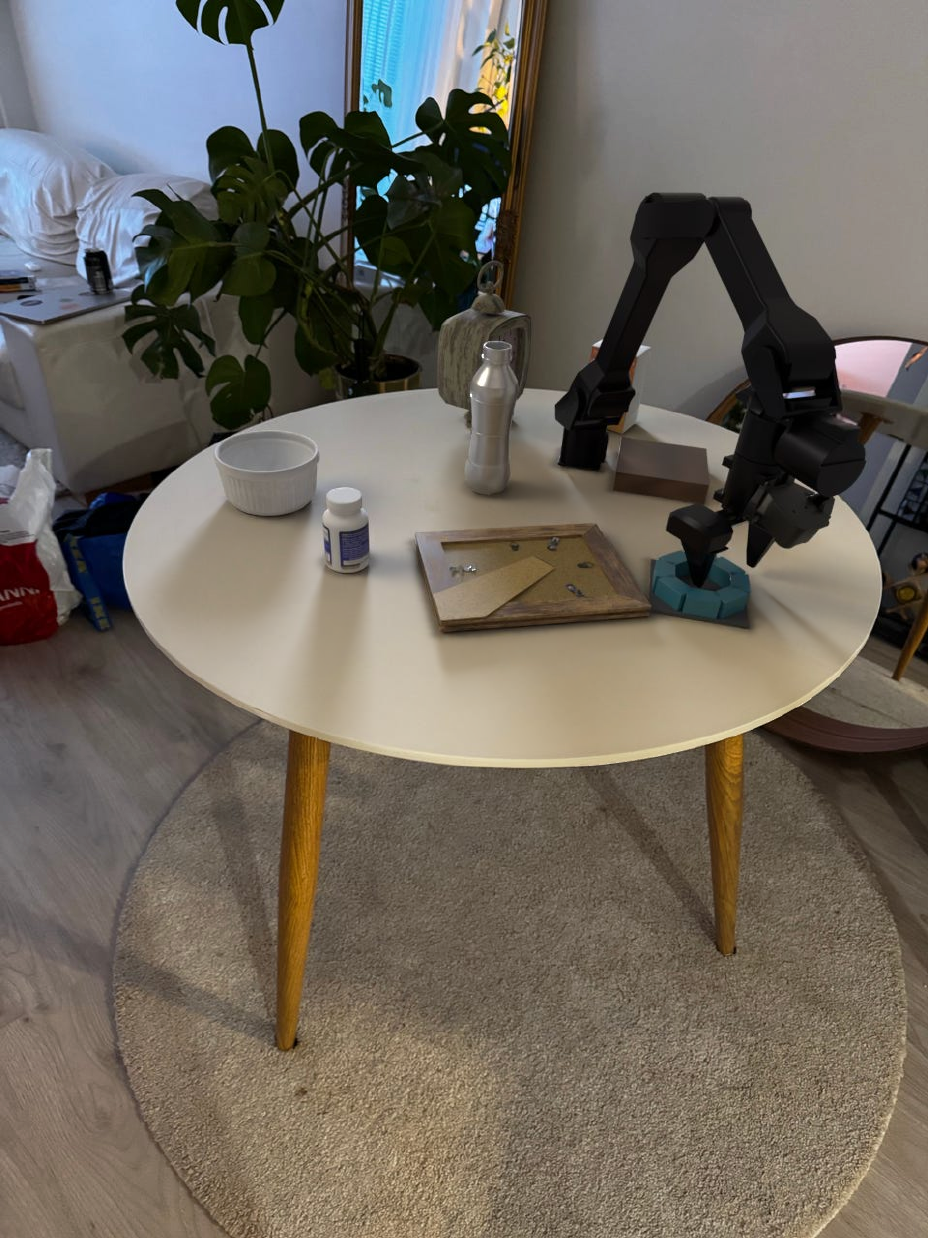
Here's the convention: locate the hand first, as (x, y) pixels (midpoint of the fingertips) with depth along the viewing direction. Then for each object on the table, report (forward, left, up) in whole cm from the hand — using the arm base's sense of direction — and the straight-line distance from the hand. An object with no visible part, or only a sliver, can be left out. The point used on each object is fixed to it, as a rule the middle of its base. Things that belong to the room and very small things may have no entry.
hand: (724, 575), depth 90 cm
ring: (-3, -3, -1) cm, 4 cm away
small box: (-17, +46, -1) cm, 49 cm away
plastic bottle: (-32, +15, -1) cm, 35 cm away
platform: (-8, +27, -1) cm, 28 cm away
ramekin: (-59, +3, -1) cm, 59 cm away
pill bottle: (-44, -9, -1) cm, 45 cm away
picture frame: (-23, -6, -1) cm, 24 cm away
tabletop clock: (-38, +38, -1) cm, 54 cm away
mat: (-3, -3, -1) cm, 4 cm away
